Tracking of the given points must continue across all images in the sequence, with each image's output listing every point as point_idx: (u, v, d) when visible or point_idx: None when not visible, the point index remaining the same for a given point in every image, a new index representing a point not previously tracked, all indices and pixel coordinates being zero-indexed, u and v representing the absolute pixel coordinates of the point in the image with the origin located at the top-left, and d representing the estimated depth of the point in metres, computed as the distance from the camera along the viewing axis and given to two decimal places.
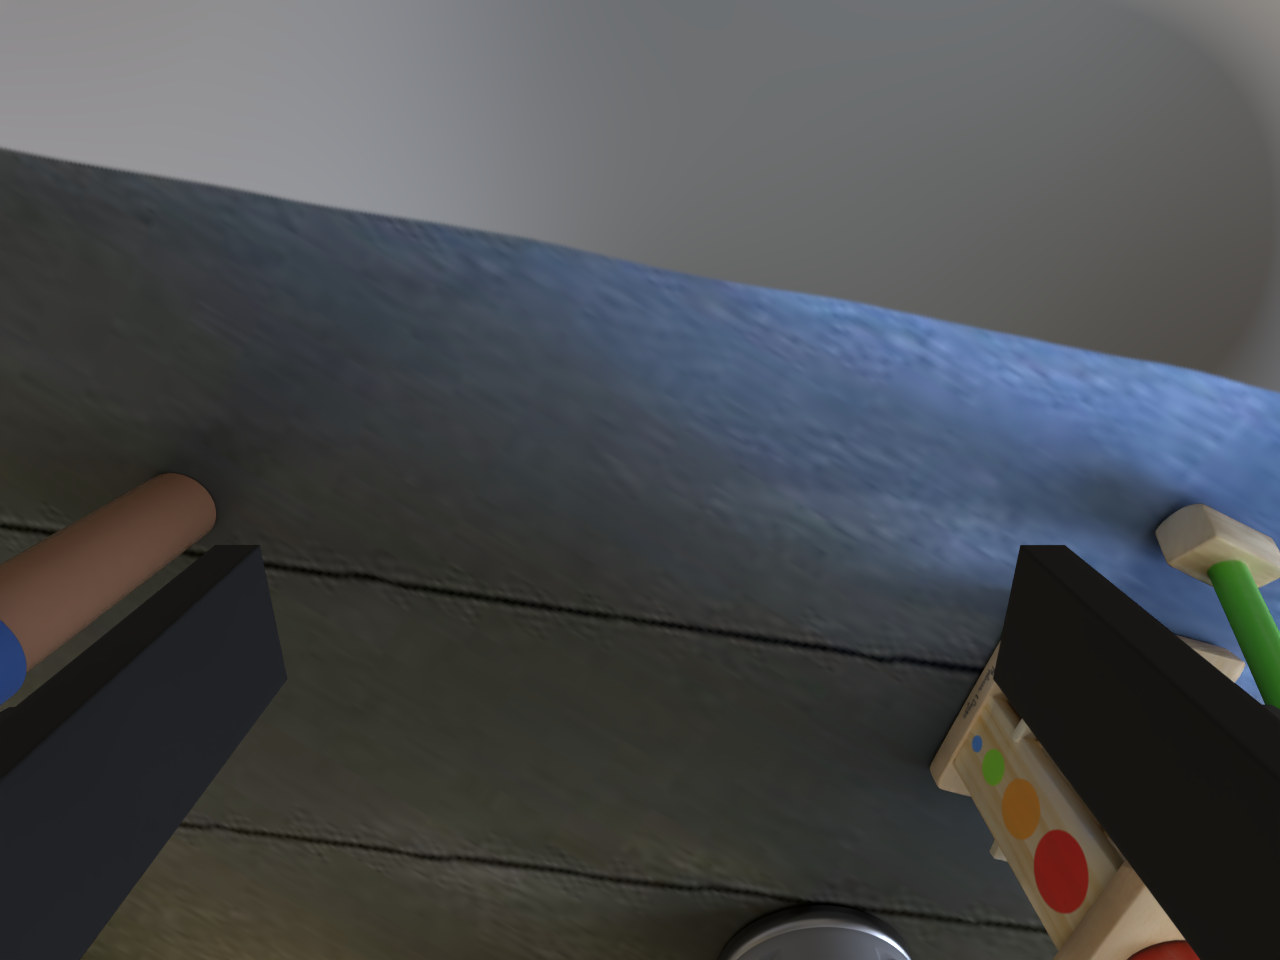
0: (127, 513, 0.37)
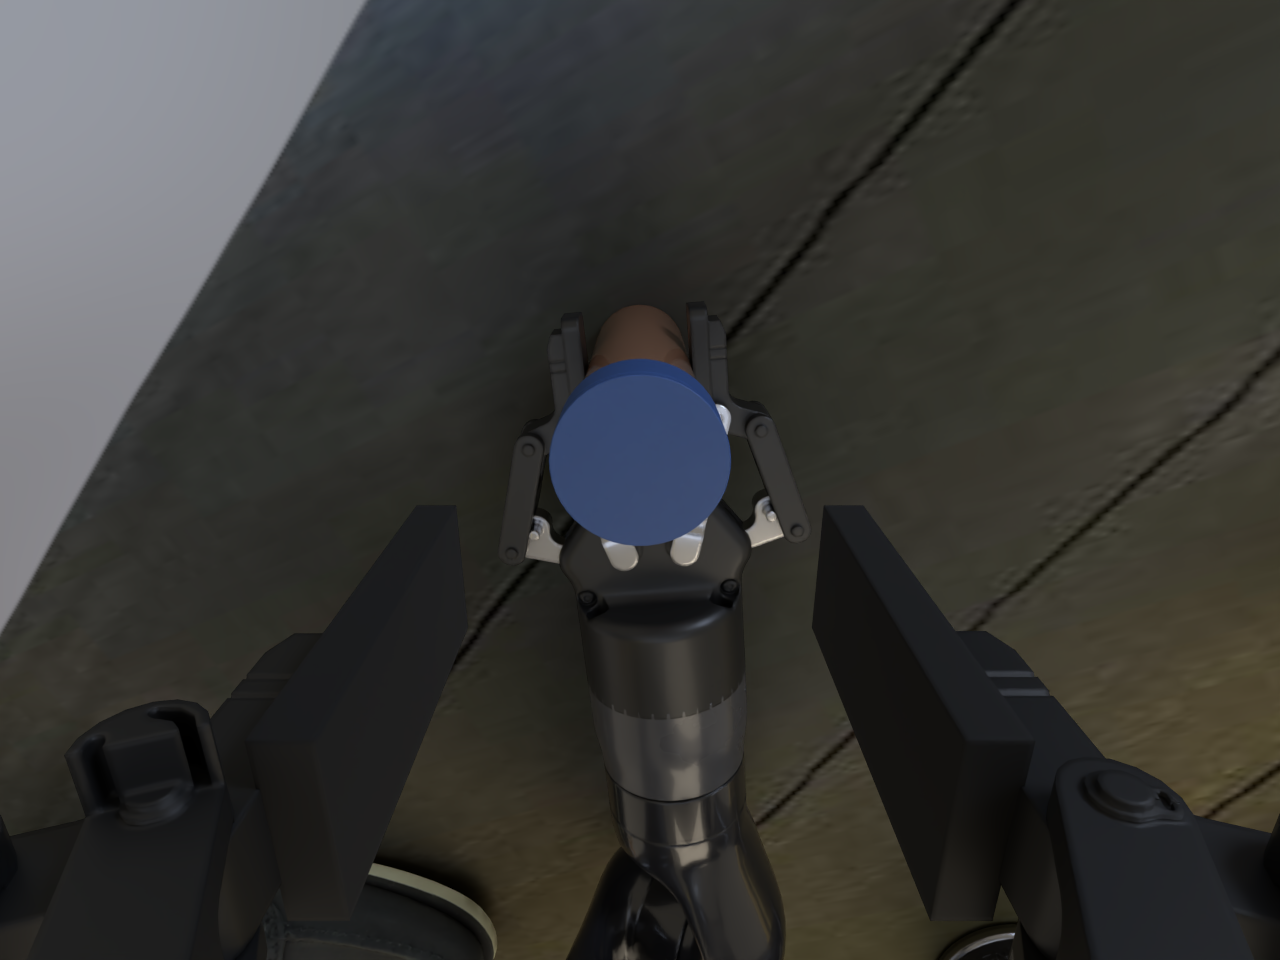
0: (610, 331, 0.30)
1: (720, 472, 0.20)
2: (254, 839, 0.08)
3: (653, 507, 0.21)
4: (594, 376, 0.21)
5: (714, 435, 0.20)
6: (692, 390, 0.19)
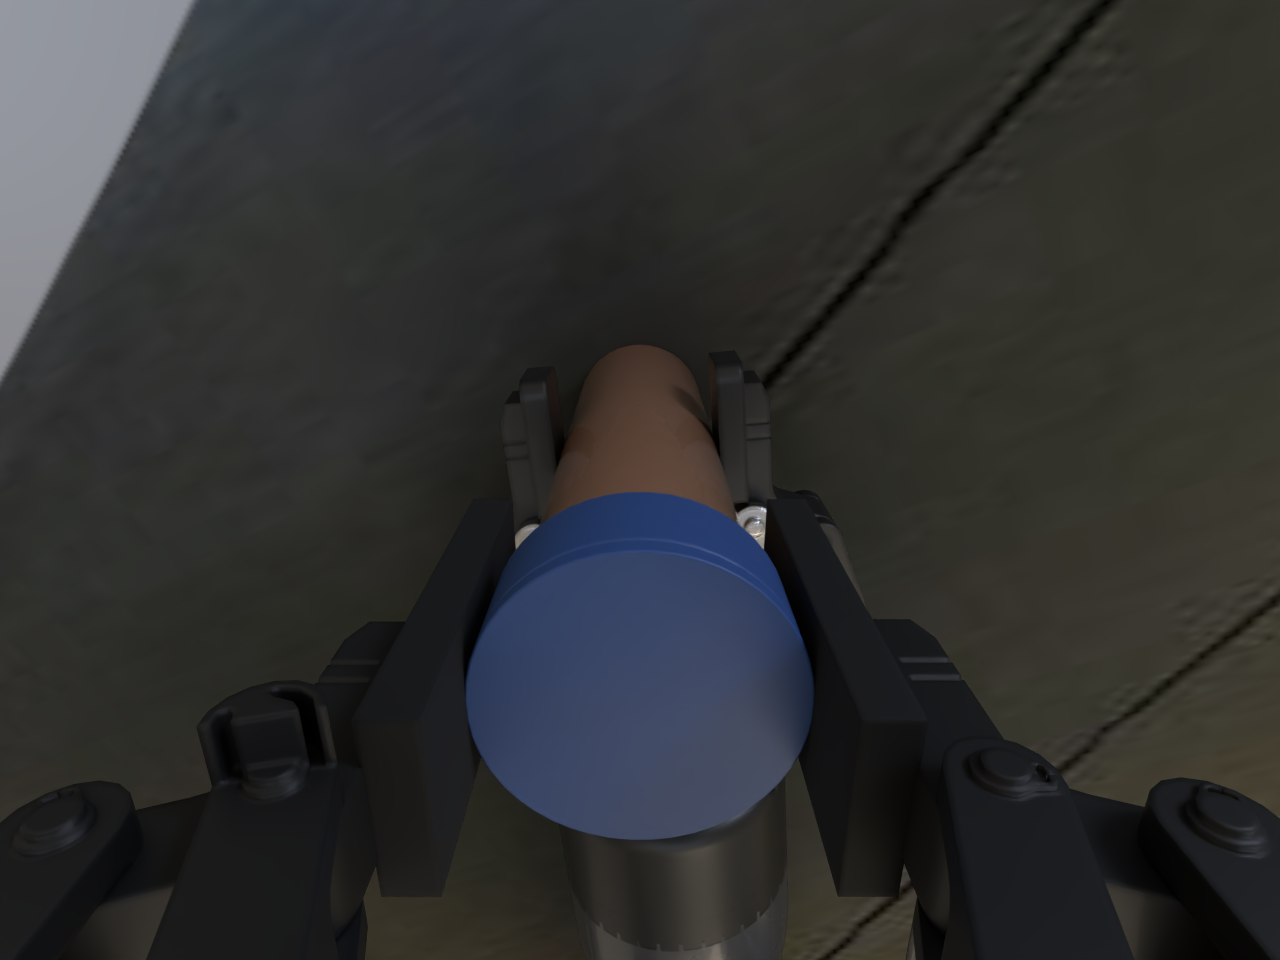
0: (596, 392, 0.21)
1: (794, 722, 0.11)
2: (358, 816, 0.08)
3: (665, 779, 0.11)
4: (554, 531, 0.11)
5: (785, 659, 0.10)
6: (744, 578, 0.10)
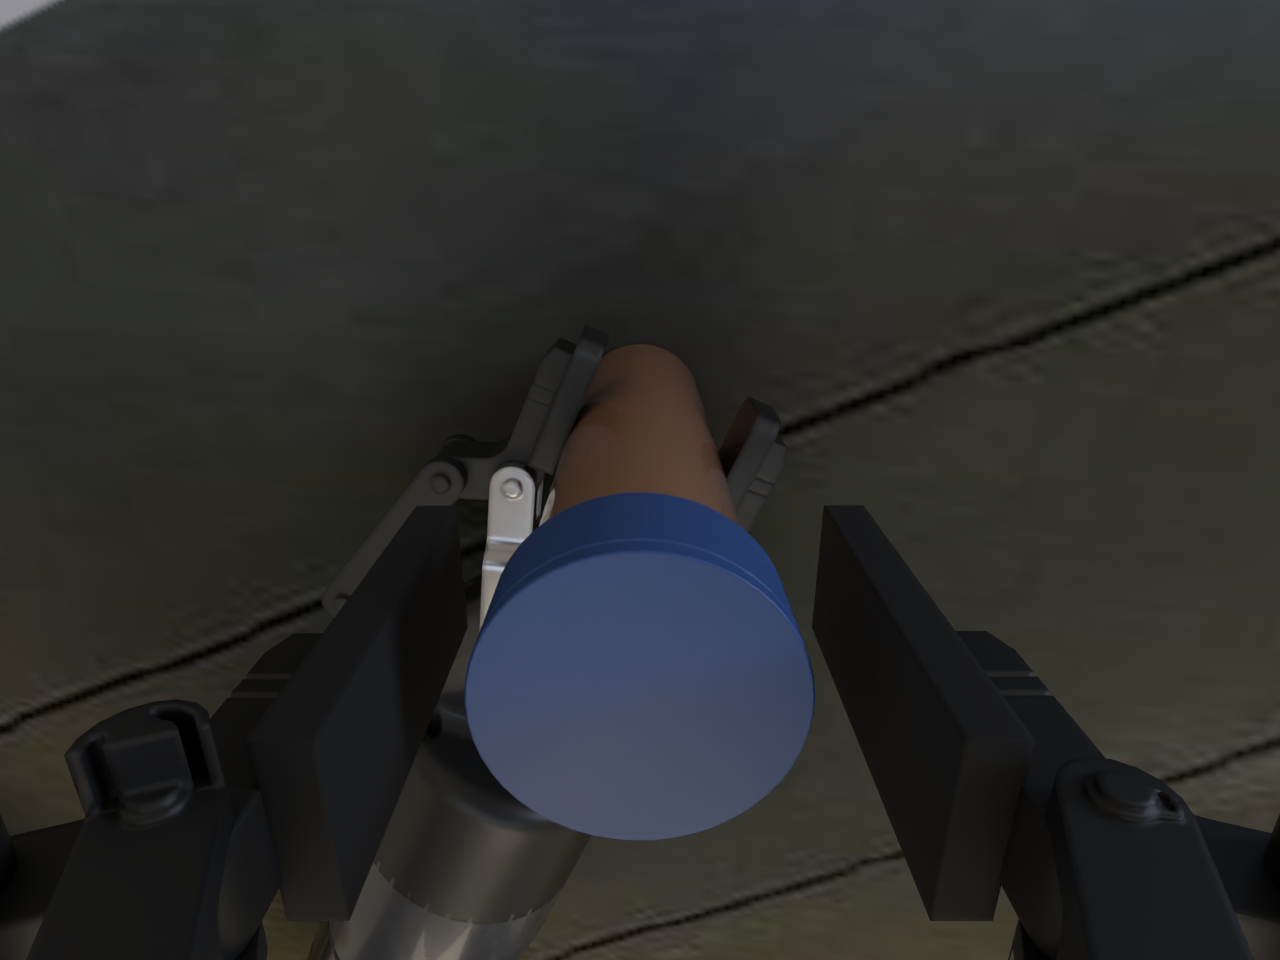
0: (631, 378, 0.21)
1: (752, 609, 0.10)
2: (254, 840, 0.08)
3: (726, 736, 0.11)
4: None
5: (681, 577, 0.10)
6: (578, 558, 0.10)
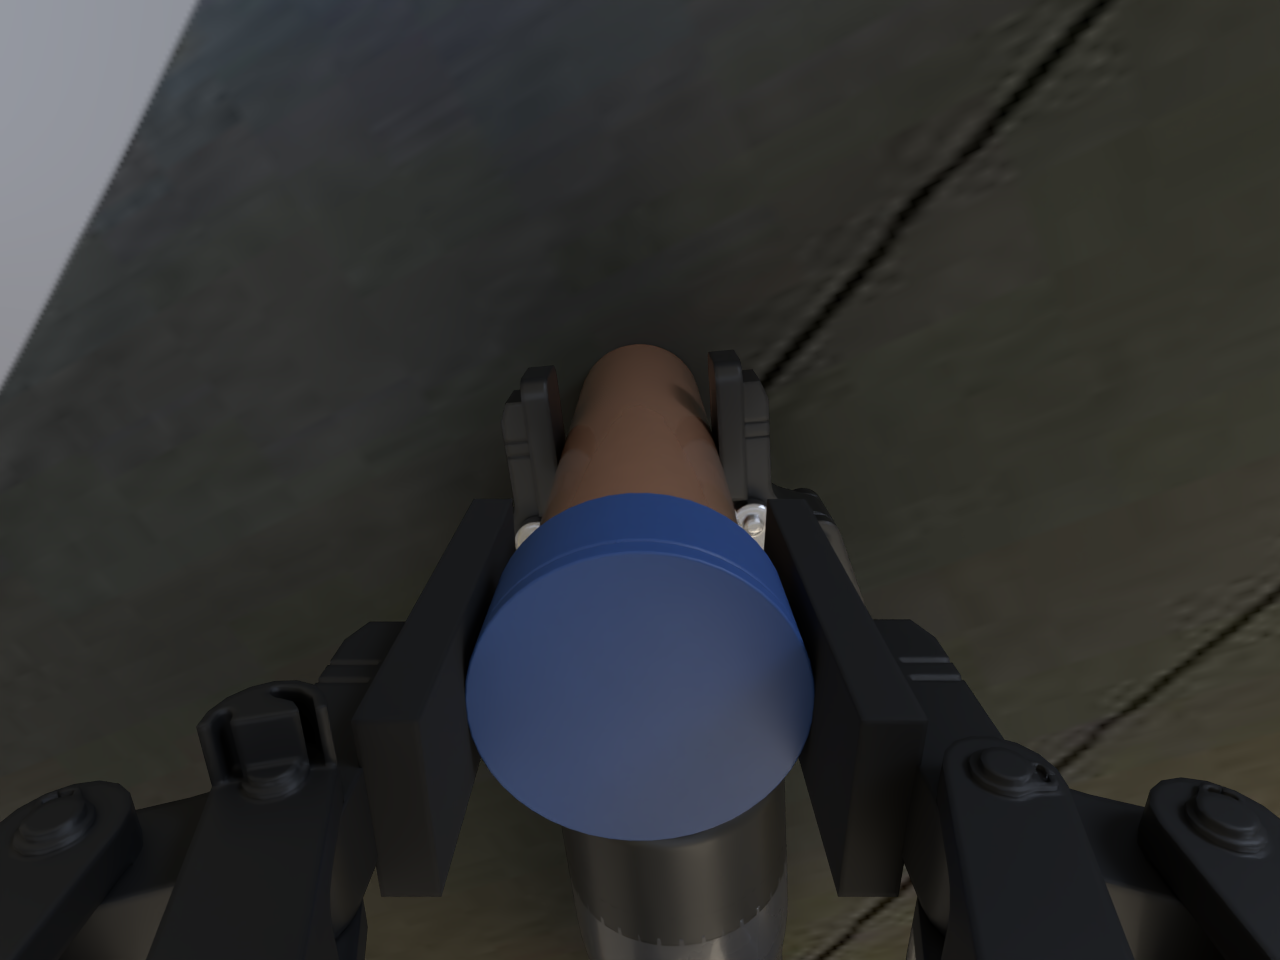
0: (596, 391, 0.21)
1: (680, 574, 0.10)
2: (358, 816, 0.08)
3: (733, 698, 0.10)
4: None
5: (598, 577, 0.10)
6: (504, 604, 0.10)
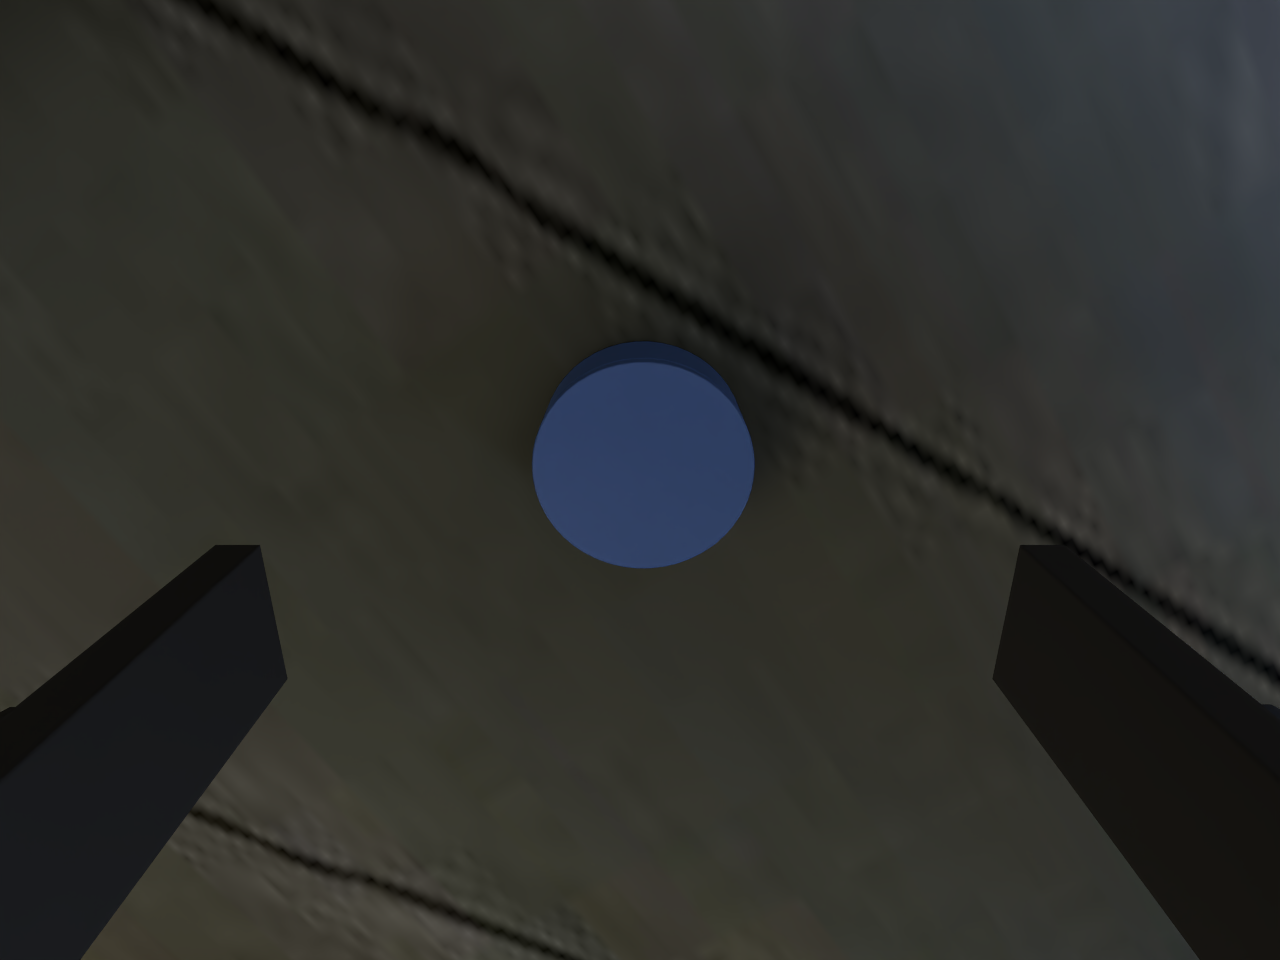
0: None
1: (668, 377, 0.16)
2: None
3: (702, 463, 0.16)
4: None
5: (617, 379, 0.16)
6: (558, 399, 0.16)
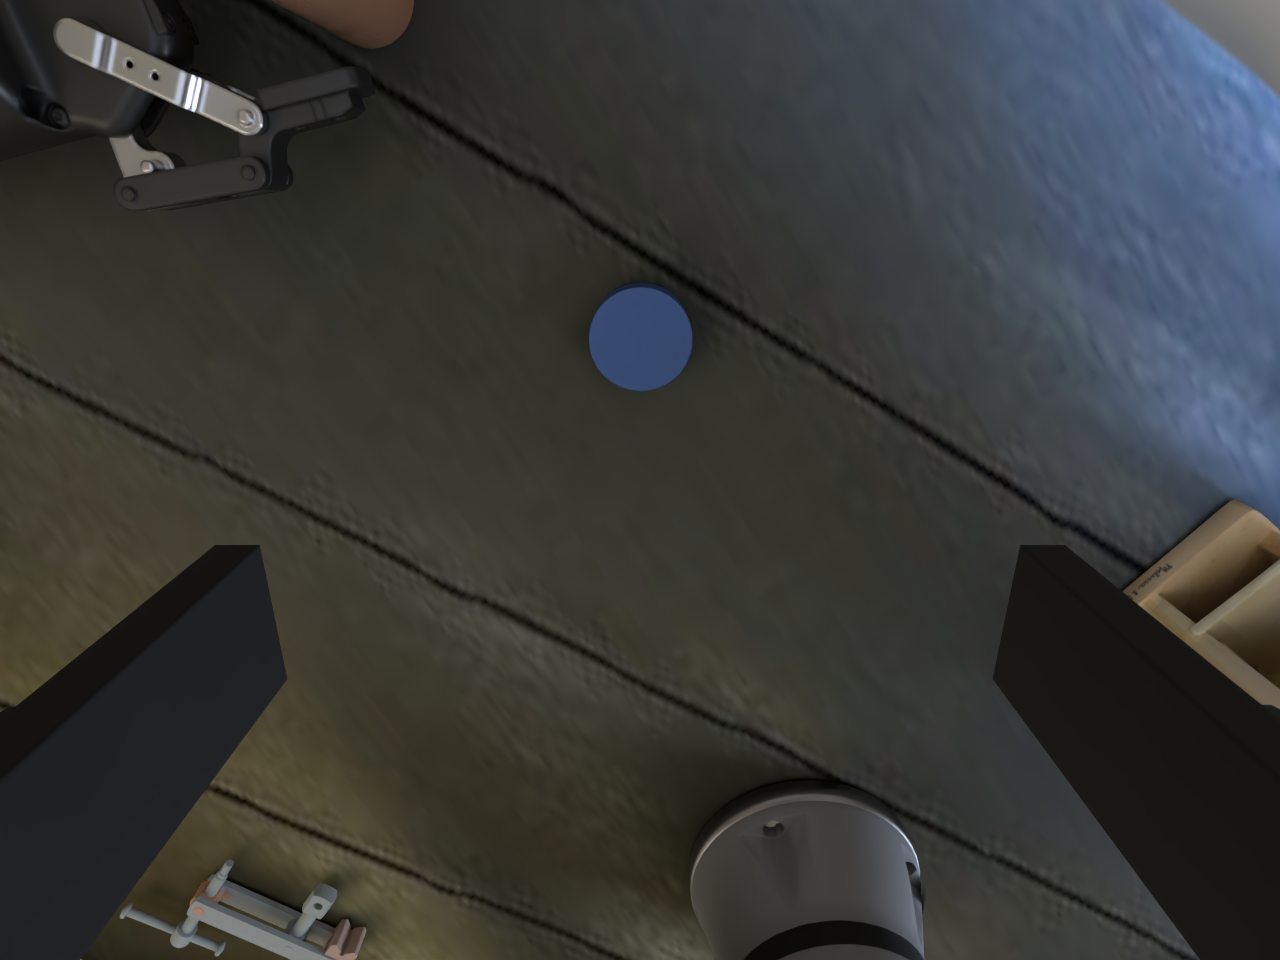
0: None
1: (652, 294, 0.34)
2: None
3: (668, 336, 0.35)
4: None
5: (629, 295, 0.34)
6: (601, 305, 0.35)
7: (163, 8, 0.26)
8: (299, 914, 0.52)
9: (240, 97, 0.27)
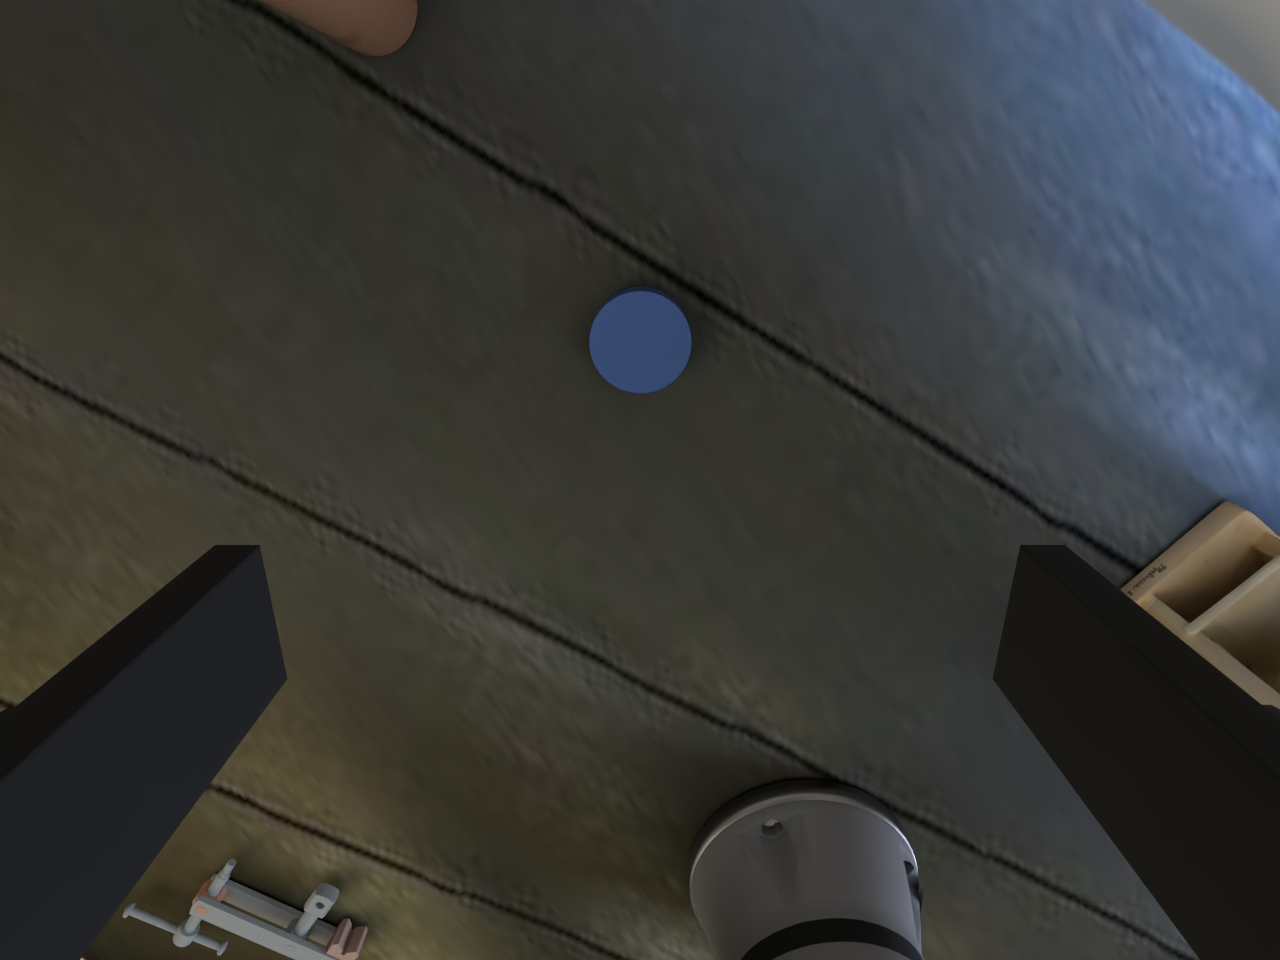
0: None
1: (651, 298, 0.35)
2: None
3: (667, 339, 0.36)
4: None
5: (629, 299, 0.35)
6: (602, 308, 0.35)
7: None
8: (301, 913, 0.52)
9: None
